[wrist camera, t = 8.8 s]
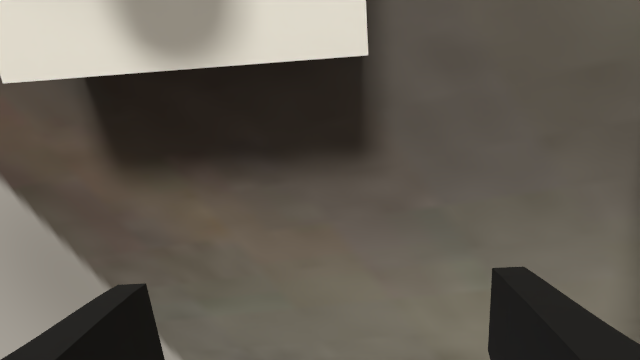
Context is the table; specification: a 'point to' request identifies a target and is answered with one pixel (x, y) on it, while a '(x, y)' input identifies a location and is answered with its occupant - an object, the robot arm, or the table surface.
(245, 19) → the socket block
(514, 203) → the table surface
